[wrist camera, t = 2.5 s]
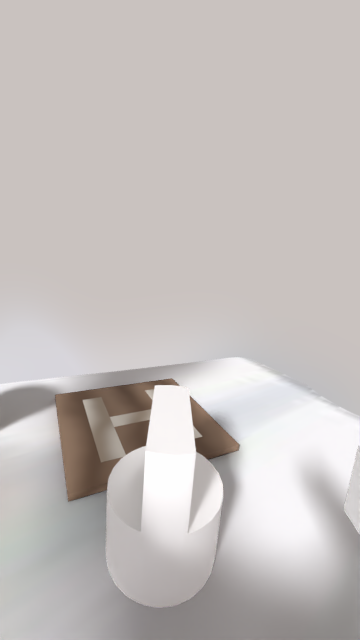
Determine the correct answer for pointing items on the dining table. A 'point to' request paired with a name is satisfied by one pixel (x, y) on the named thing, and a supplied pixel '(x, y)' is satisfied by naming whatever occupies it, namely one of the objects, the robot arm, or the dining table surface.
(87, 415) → the letter board
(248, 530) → the dining table surface
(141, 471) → the base with upright slab
